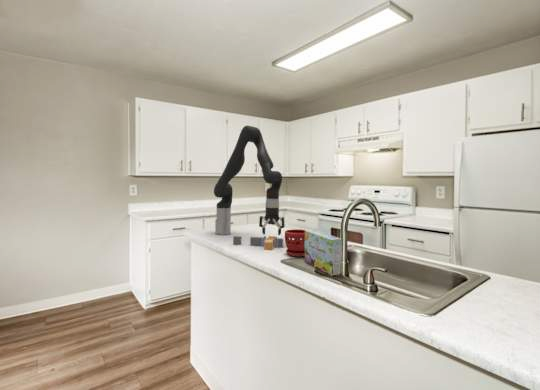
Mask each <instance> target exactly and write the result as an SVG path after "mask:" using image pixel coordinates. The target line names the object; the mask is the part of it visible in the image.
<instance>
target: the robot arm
mask: <svg viewBox="0 0 540 390" xmlns="http://www.w3.org/2000/svg"><path fill="white" fill-rule="evenodd" d="M248 143H253V144H254V145H255V147H256V149H257V150H256V158H257V162H258V164H259V166H260V169H261V171H262V177H263V181H265V182H266V183H267V184H269V185H270V184H271V185H270V187H268V188H267V189H266V198H265V214H264V215H260V216H259V222H258V227H261V230H262V231H261V233H262V234H263V235H264V236H266V226H267V225H275V226H276V227H277V228H278V231H277V236H281V234H282V229H284V228H285V217H284V216H282V217H281V216H279V215H280V188H281V186H282V182H283V176H282V173H281V172H280V171H278V170H272V169H273V168H274V163H273V161H272V158H271V157H270V155H269V152H268V151H267V147H266V145H265V142H264V138H263V134H262V132H261V130H260V128H258V127H255V126H252V125H245V126H243V128H242V129H241V130H240V133H239V136H238V139H237V142H236V144H235V147H234V149H233V151H232V153H231V155H230V157H229V159H228V160H227V161H228V162H227V164H226V166H225V168H224V169H223V171H222V173H221V176H220V177H219V179H218V181H217V182H216V183H215V185H214V188H213V195H214V196H215V197H216V198H221V200H220V201H218V202H217V203H216V218H215V220H214V221H215V223H214V224H215V225H214V226H215V228H214V229H215V231H214V232H215V235H221V236H222V235H223V236H225V235H226V236H227V235H230V234H231V231H232V230H231V228H232V227H231V225H232V224H231V223H232V222H231V221H232V220H231V219H232V218H231V216H232V215H231V214H232V213H231V211H232V210H231V209H232V203H233V191H234V190H233V187H232V185H231V184H230V182H231V180H233V179H234V178H235V176H237V175H238V174H239V173H240V172H241V170H242V168H243V167H244V164H245V150H246V147H247V145H248ZM279 220H280V221H281V224H280V223H279ZM263 221H265V222H264V224H263Z"/></svg>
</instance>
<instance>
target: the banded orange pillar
mask: <svg viewBox="0 0 540 390" xmlns="http://www.w3.org/2000/svg"><path fill="white" fill-rule="evenodd" d="M275 237H277V236H272V235H269V236H268V237H266V240H265V242H264V247H263V250H266V251H272V250H273V249H274V247H275Z"/></svg>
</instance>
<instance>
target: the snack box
mask: <svg viewBox="0 0 540 390" xmlns="http://www.w3.org/2000/svg"><path fill="white" fill-rule="evenodd" d="M304 230H305V256H304V260H303V261H304V263H306V264H308V265H310V266H311V267H314V268H315V267H319V268H321V269H323V270H325V271H327V272H330V273H332V274H337V275H336V276H340V275H342V265H343V264H342V263H343V262H342V258H343V257H342V255H343V239H342V238H340V237H337V236H334V235H332V234H329V233H325V232H323V231H320V230H316V229H304Z"/></svg>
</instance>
